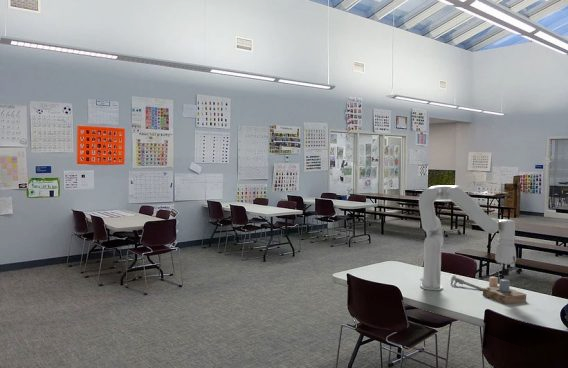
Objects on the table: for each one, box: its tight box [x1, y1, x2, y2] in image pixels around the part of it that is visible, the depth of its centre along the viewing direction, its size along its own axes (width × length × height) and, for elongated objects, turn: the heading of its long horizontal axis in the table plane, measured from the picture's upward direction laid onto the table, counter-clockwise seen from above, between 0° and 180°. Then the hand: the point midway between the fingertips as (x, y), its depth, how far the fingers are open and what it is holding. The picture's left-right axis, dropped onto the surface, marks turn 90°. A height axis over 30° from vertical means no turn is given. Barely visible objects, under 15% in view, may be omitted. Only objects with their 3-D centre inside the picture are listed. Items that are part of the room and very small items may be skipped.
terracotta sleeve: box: [488, 276, 499, 287], centre depth 251 cm, size 4×4×8 cm
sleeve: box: [498, 278, 511, 293], centre depth 238 cm, size 5×5×10 cm
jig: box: [482, 285, 527, 305], centre depth 238 cm, size 16×14×5 cm
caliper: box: [450, 275, 484, 292], centre depth 257 cm, size 20×1×6 cm, turn 51°
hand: (505, 275), depth 237 cm, fingers closed
